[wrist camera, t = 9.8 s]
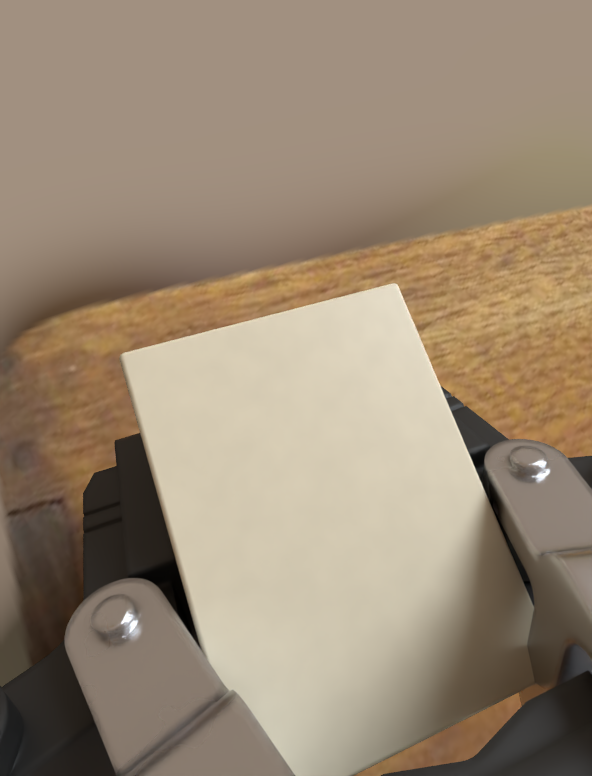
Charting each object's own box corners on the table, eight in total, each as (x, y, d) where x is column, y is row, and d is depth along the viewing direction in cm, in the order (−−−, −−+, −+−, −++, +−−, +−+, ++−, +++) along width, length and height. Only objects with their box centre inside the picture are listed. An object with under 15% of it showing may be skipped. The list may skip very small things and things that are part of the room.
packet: (302, 410, 17) (399, 276, 8) (370, 599, 15) (568, 674, 7) (166, 452, 16) (112, 350, 7) (225, 658, 14) (248, 838, 6)
